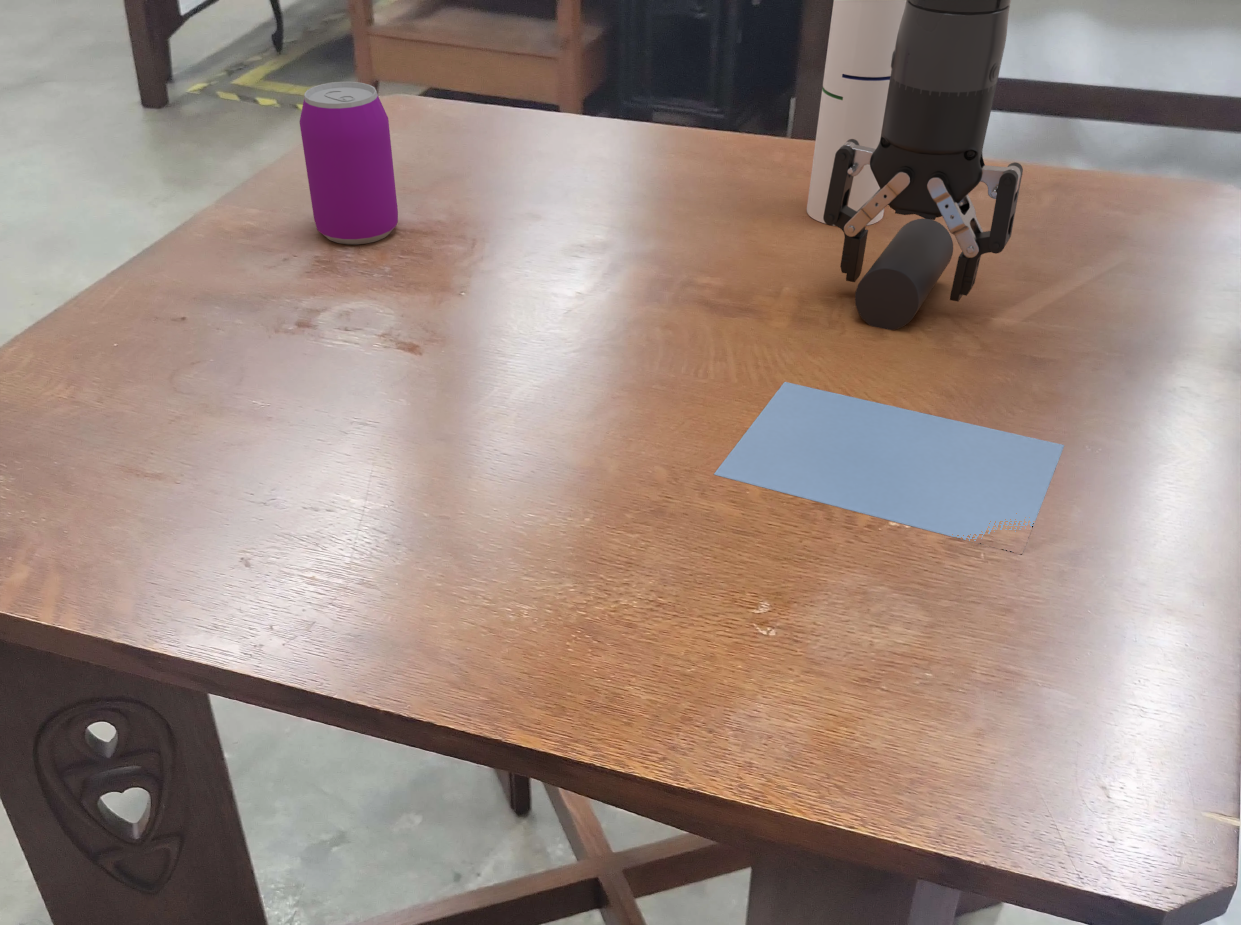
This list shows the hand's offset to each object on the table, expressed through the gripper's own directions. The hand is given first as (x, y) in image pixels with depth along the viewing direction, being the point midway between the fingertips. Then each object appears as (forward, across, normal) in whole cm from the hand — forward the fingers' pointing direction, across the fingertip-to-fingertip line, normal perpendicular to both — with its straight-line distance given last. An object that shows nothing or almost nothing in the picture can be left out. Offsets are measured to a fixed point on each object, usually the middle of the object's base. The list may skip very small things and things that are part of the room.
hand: (903, 287), depth 96 cm
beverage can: (+1, +49, +7) cm, 50 cm away
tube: (+1, 0, 0) cm, 1 cm away
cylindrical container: (+2, +10, -17) cm, 20 cm away
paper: (+1, -6, +24) cm, 25 cm away
